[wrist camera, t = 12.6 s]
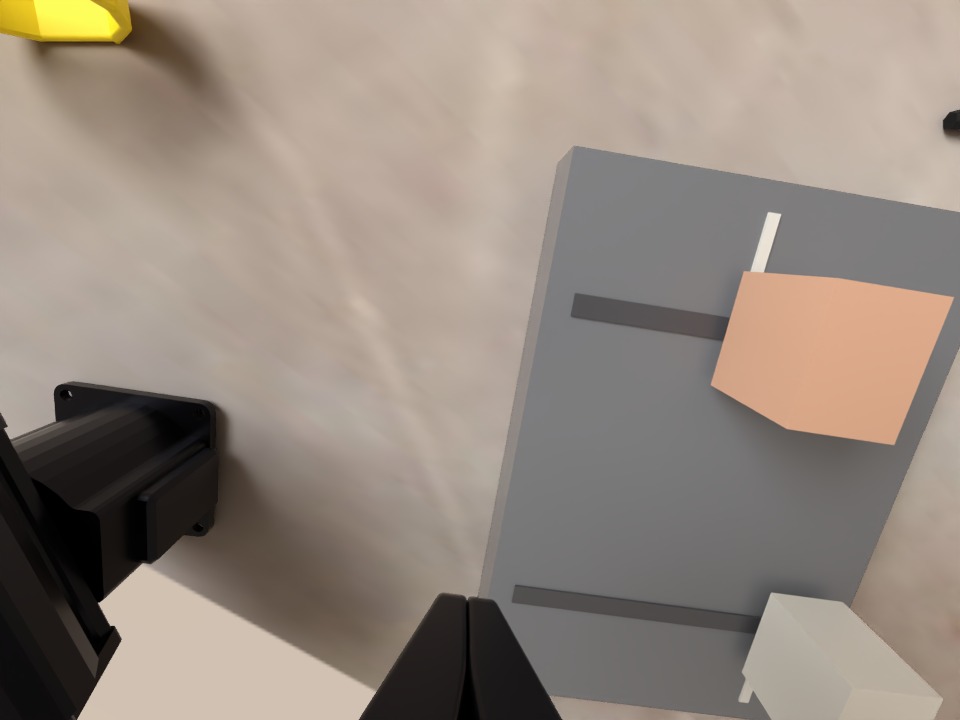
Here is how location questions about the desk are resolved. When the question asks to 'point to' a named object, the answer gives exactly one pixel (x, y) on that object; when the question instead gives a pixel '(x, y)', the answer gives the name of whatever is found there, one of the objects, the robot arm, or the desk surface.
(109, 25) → the watch
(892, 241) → the fader console
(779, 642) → the cream fader
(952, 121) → the microphone
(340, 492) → the desk surface
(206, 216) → the desk surface
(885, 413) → the terracotta fader
